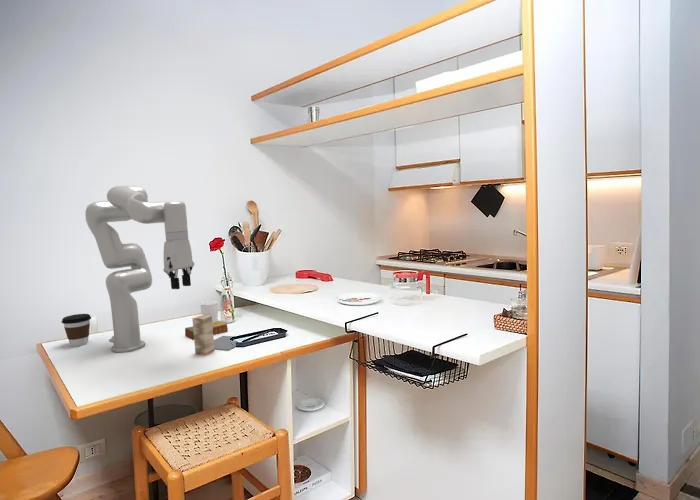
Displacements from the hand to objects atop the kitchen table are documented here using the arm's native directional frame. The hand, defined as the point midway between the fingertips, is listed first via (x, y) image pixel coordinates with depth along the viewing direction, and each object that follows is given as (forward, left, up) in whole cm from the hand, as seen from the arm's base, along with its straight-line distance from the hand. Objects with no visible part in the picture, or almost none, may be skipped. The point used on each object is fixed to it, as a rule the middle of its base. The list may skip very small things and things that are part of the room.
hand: (181, 286), depth 169 cm
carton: (-16, +32, -28) cm, 45 cm away
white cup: (-26, +48, -28) cm, 61 cm away
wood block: (0, +10, -27) cm, 29 cm away
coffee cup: (-62, +7, -28) cm, 68 cm away
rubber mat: (+1, +22, -27) cm, 35 cm away
